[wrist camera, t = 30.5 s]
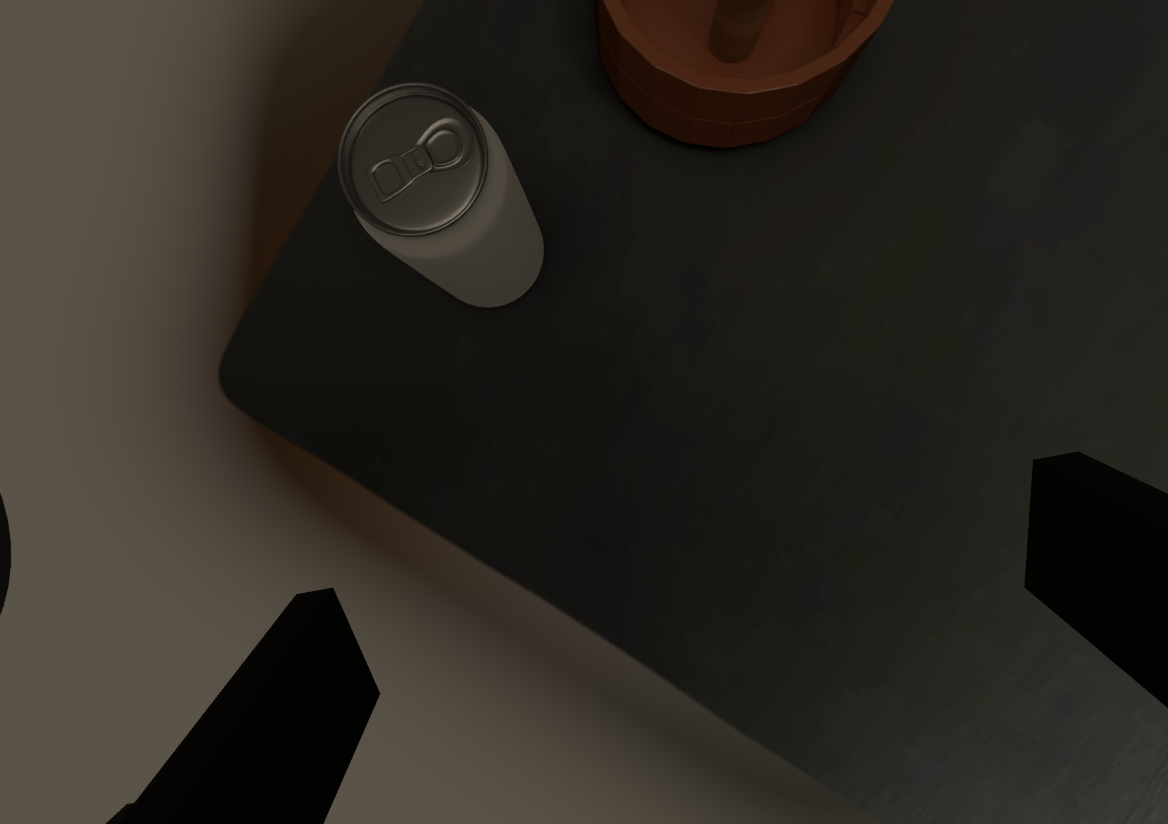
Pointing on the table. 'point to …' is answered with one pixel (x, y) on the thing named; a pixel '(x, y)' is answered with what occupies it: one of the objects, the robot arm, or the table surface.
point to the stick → (736, 28)
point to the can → (440, 193)
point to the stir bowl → (731, 65)
